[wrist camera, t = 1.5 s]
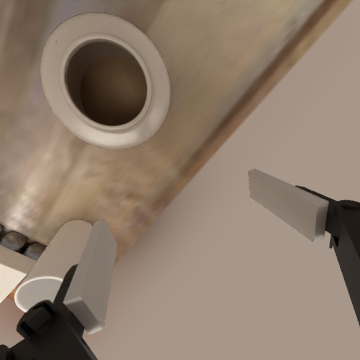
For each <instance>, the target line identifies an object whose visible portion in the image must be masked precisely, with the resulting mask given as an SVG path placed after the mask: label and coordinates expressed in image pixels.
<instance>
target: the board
mask: <svg viewBox="0 0 360 360" xmlns="http://www.w3.org/2000/svg"><path fill="white" fill-rule="evenodd" d="M35 263H36V261H35V260H33V259H31V258H29V257H26V256H24V255H22V254H20V253H17V252H15V251H13V250H10V249H8V248H6V247H4V246H1V245H0V303H1V301H3V299H4V298H5V297H6V296H7V295H8V294H9V293H10V292H11V291H12V290H13V289H14V288H15V287H16V286H17V285H18V284H19V283H20V282H21V280H22V279H23V278H24V277H25V276H26V275H27V274H28V273H29V271H30V270H31V268H32V267H33V265H34V264H35Z"/></svg>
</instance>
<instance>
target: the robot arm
mask: <svg viewBox="0 0 360 360" xmlns="http://www.w3.org/2000/svg"><path fill="white" fill-rule="evenodd" d="M248 176H249V188H250V197H251V198H252V199H254V200H255V201H257V202H258V203H259V204H261V205H262V206H264V207H265V208H266V209H268V210H269V211H271V212H272V213H273V214H275V215H276V216H278V217H279V218H280V219H282V220H283V221H285V222H286V223H287V224H289V225H290V226H291V227H293V228H294V229H296V230H297V231H298V232H300V233H301V234H303V235H304V236H305V237H307V238H308V239H310V240H311V241H312V242H317V241H319V240H322V239H324V237H325V231H327V232H329V233H330V234H331V239H330V248H332V246H333V247H334V250H335V253H336V256H337V259H338V262H339V265H340V268H341V271H342V274H343V277H344V280H345V283H346V286H347V289H348V292H349V295H350V298H351V301H352V304H353V307H354V310H355V313H356V316H357V319H358V322H359V325H360V203H359V202H356V201H351V200H341V201H335V200H333V199H331V198H328V197H326V196H324V195H321V194H319V193H317V192H314V191H311V190H309V189H307V188H305V187H301V186H293V185H291V184H288V183H286V182H284V181H281V180H279V179H277V178H275V177H273V176H270V175H268V174H266V173H264V172H261V171H259V170H257V169H253V170H250V171H248ZM116 247H117V243H116V241H115V239H114V237H113V235H112V233H111V231H110V229H109V227H108V225H107V223H106V221H105V219H103V220H100V221H97V222H95V223H94V226H93V228H92V231H91V233H90V236H89V238H88V241H87V243H86V246H85V248H84V251H83V253H82V256H81V258H80V261H79V263H78V264H76V265H73V266H72V267H71V268H70V269H69V270H68V272H67V273H66V275H65V277H64V279H63V281H62V282H63V283H61V286H60V289H59V290H58V292H57V295H56V297H55V299H54V301H53V303H52V302H51V301H50V300H43V301H41V302H38V303H37V304H35V305H34V306H32V307H31V308H30V309H29V310H28V311H27V312H26V313H25V314H24V315H23V317H22V318H21V319H20V321H19V323H18V325H17V332H18V333H19V334H20V335H22V336H23V337H24V338H25V339H24V340H22V341H20V342H19V343H17V344H16V345H15V346H13V347H11V348H10V349H9V348H8V347H7V346H5V345H0V360H97V358H96V357H95V355H94V354H93V352H92V351H91V349H90V348H89V346H88V345H87V343H86V342H85V341H84V339H83V338H82V335H83V332H84V329H85V330H86V331H87V333H88V334H92V333H95V332H97V331H99V330H102V329H104V324H105V317H106V311H107V305H108V298H109V292H110V286H111V279H112V273H113V267H114V260H115V254H116Z"/></svg>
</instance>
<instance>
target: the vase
mask: <svg viewBox="0 0 360 360" xmlns="http://www.w3.org/2000/svg"><path fill="white" fill-rule="evenodd" d="M40 77H41V84H42V88H43V92H44V95H45V97H46V100H47V102H48V104H49V106H50V108H51V110H52V111H53V113H54V114H55V116H56V117H57V118H58V120H59V121H60V122H61V123H62V124H63V125H64V126H65V127H66V128H67V129H68V130H69V131H70V132H71V133H72V134H74V135H75V136H77V137H78V138H80V139H81V140H83V141H85V142H87V143H89V144H91V145H94V146H97V147H100V148H105V149H112V150H120V149H128V148H132V147H135V146H138V145H140V144H142V143H144V142H145V141H147V140H148V139H150V138H151V137H152V136H153V135H154V134H155V133H156V132H157V131H158V130H159V128H160V127H161V125H162V124H163V122H164V120H165V118H166V116H167V113H168V109H169V105H170V97H171V88H170V80H169V75H168V71H167V68H166V65H165V63H164V61H163V58H162V56H161V55H160V53H159V51H158V50H157V48H156V47H155V45H154V44H153V43H152V41H151V40H150V39H149V38H148V37H147V36H146V35H145V34H144V33H143V32H142V31H141V30H140V29H138V28H137V27H136V26H134V25H133V24H131V23H130V22H128V21H126V20H124V19H122V18H120V17H117V16H115V15H111V14H107V13H100V12H89V13H82V14H78V15H75V16H73V17H70V18H68V19H67V20H65V21H64V22H62V23H61V24H60V25H58V26H57V27H56V28H55V29H54V31H53V32H52V33H51V34H50V36H49V38H48V39H47V41H46V43H45V46H44V48H43V51H42V55H41V62H40Z"/></svg>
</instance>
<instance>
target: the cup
mask: <svg viewBox="0 0 360 360" xmlns="http://www.w3.org/2000/svg"><path fill="white" fill-rule="evenodd" d="M92 228H93V226H92V225H91V224H90V223H88V222H86V221H83V220H72V221H69V222H66V223H65V224H63V225H62V226H61V228H60V229H59V230H58V232H57V233H56V235H55V236H54V238H53V239H52V240H51V242H50V243H49V245H48V246H47V248H46V249H45V250H44V252H43V253H42V255H41V256H40V258H39V259H38V260H37V262H36V263H35V265H34V266H33V268H32V269H31V270H30V272H29V273H28V275H27V276H26V278H25V279H24V281H23V282H22V283H21V285H20V286H19V288H18V289H17V291H16V293H15V303H16V304H17V306H18V307H19V308H20V309H21V310H22V311H24V312H27V311H28V310H29V309H30V308H31V307H32V306H34V305H35V304H37V303H38V302H41V301H43V300H50V301H51V302H52V303H53V301H54V299H55V297H56V295H57V292H58V290H59V289H60V286H61V283H63V282H62V281H63V279H64V277H65V275H66V273H67V272H68V270H69V269H70V268H71V267H72V266H73V265H76V264H78V263H79V261H80V258H81V256H82V253H83V251H84V248H85V246H86V243H87V241H88V238H89V236H90V233H91V231H92Z"/></svg>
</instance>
